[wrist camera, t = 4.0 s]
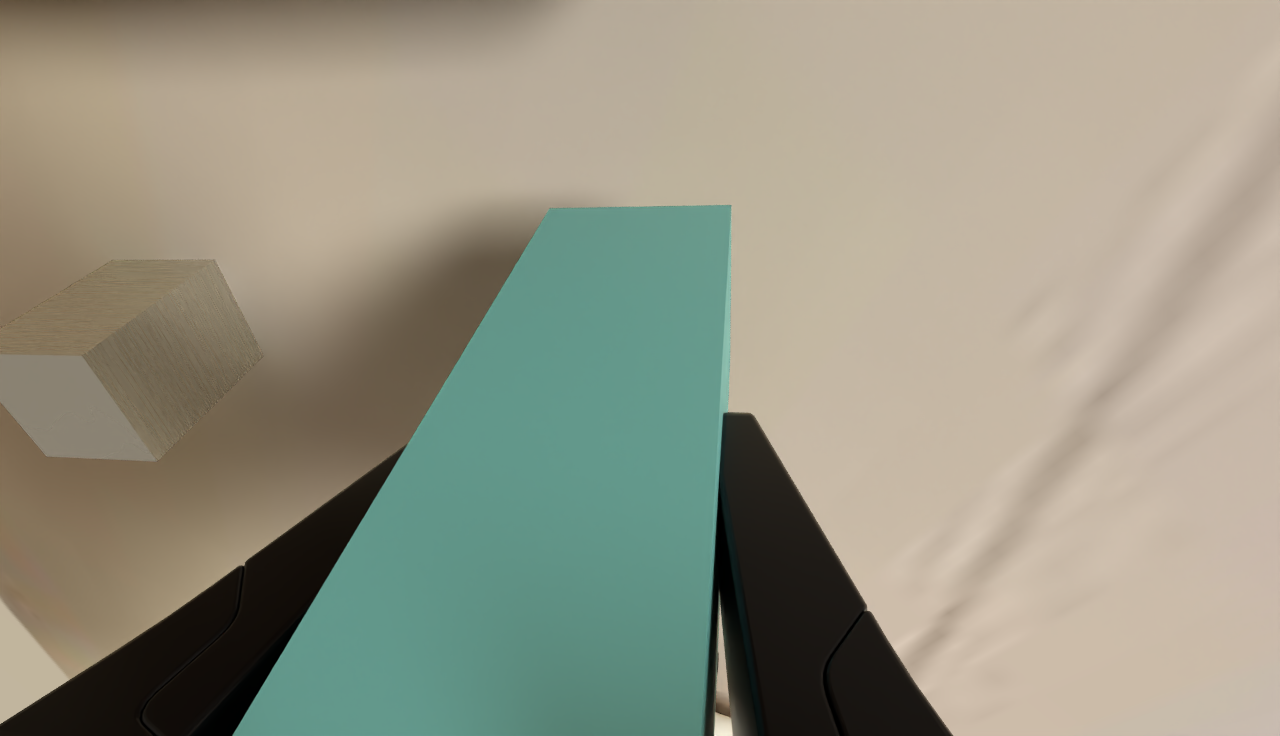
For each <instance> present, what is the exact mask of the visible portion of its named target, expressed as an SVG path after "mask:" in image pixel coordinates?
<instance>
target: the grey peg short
mask: <svg viewBox="0 0 1280 736" xmlns="http://www.w3.org/2000/svg"><path fill="white" fill-rule="evenodd" d="M263 356H264V355H263V353H262V351H261V349H260V347H259V345H258V343H257V341H256V339H255V337H254V335H253V333H252V331H251V329H250V327H249V325H248V324H247V322H246V320H245V318H244V316H243V314H242V312H241V310H240V308H239V306H238V304H237V302H236V300H235V298H234V296H233V294H232V292H231V290H230V288H229V286H228V284H227V282H226V280H225V278H224V276H223V274H222V273H221V271H220V269H219V267H218V265H217V263H216V261H215V260H112V261H111V262H109V263H107V264H106V265H104V266H102V267H101V268H99V269H97V270H96V271H94V272H92V273H91V274H89V275H88V276H86V277H84V278H83V279H81V280H79V281H78V282H76V283H74V284H73V285H71V286H69V287H68V288H66V289H64V290H63V291H61V292H60V293H58V294H56V295H55V296H53V297H51V298H50V299H48V300H46V301H45V302H43V303H41V304H40V305H38V306H37V307H35V308H33V309H32V310H30V311H28V312H27V313H25V314H23V315H22V316H20V317H18V318H17V319H15V320H13V321H12V322H10V323H9V324H7V325H5V326H4V327H2V328H0V402H1V404H2V405H3V406H4V407H5V408H6V409H7V411H8V412H9V413H10V414H11V415H12V417H13V418H14V419H15V420H16V421H17V422H18V424H19V425H20V426H21V427H22V428H23V430H24V431H25V432H26V433H27V434H28V435H29V437H30V438H31V439H32V440H33V441H34V443H35V444H36V445H37V446H38V447H39V448H40V450H41V451H42V452H43V453H44V454H45V456H46V457H67V458H88V459H110V460H131V461H152V462H157V461H158V460H159V459H160V458H161V457H162V456H163V455H164V454H165V453H166V452H168V451H169V450H170V449H171V448H172V447H173V446H174V445H175V444H176V443H177V442H178V441H179V440H180V439H181V438H182V437H183V436H184V435H185V434H186V433H187V432H188V431H189V430H190V429H191V428H192V427H193V426H194V425H195V424H196V423H197V422H198V421H199V420H200V419H201V418H202V417H203V416H204V415H205V414H206V413H207V412H208V411H209V410H210V409H211V408H212V407H213V406H214V405H215V404H216V403H217V402H218V401H219V400H220V399H221V398H222V397H223V396H224V395H225V394H226V393H227V392H228V391H229V390H230V389H231V388H232V387H233V386H234V385H235V384H236V383H237V382H238V381H239V380H240V379H241V378H242V377H243V376H244V375H245V374H246V373H247V372H248V371H249V370H250V369H251V368H252V367H253V366H254V365H255V364H256V363H257V362H258V361H259V360H260V359H261V358H262V357H263Z"/></svg>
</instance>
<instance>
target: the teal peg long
mask: <svg viewBox="0 0 1280 736" xmlns="http://www.w3.org/2000/svg"><path fill="white" fill-rule="evenodd" d="M730 306H731V205H708V206H652V207H597V208H550V209H549V210H548V212H547V214H546V215H545V217H544V219H543V220H542V222H541V224H540V225H539V227H538V229H537V230H536V232H535V233H534V235H533V237H532V238H531V240H530V242H529V243H528V245H527V247H526V248H525V250H524V252H523V253H522V255H521V257H520V258H519V260H518V262H517V263H516V265H515V267H514V268H513V270H512V272H511V273H510V275H509V277H508V278H507V280H506V282H505V283H504V285H503V287H502V288H501V290H500V292H499V293H498V295H497V297H496V298H495V300H494V302H493V303H492V305H491V307H490V308H489V310H488V312H487V313H486V315H485V317H484V318H483V320H482V322H481V323H480V325H479V327H478V328H477V330H476V332H475V333H474V335H473V337H472V338H471V340H470V342H469V343H468V345H467V347H466V348H465V350H464V352H463V353H462V355H461V357H460V358H459V360H458V361H457V363H456V365H455V366H454V368H453V370H452V371H451V373H450V375H449V376H448V378H447V380H446V381H445V383H444V385H443V386H442V388H441V390H440V391H439V393H438V395H437V396H436V398H435V400H434V401H433V403H432V405H431V406H430V408H429V410H428V411H427V413H426V415H425V416H424V418H423V420H422V421H421V423H420V425H419V426H418V428H417V430H416V431H415V433H414V435H413V436H412V438H411V440H410V441H409V443H408V445H407V446H406V448H405V450H404V451H403V453H402V455H401V456H400V458H399V460H398V461H397V463H396V465H395V466H394V468H393V470H392V471H391V473H390V475H389V476H388V478H387V480H386V481H385V483H384V485H383V486H382V488H381V490H380V491H379V493H378V494H377V496H376V498H375V499H374V501H373V503H372V504H371V506H370V508H369V509H368V511H367V513H366V514H365V516H364V518H363V519H362V521H361V523H360V524H359V526H358V528H357V529H356V531H355V533H354V534H353V536H352V538H351V539H350V541H349V543H348V544H347V546H346V548H345V549H344V551H343V553H342V554H341V556H340V558H339V559H338V561H337V563H336V564H335V566H334V568H333V569H332V571H331V573H330V574H329V576H328V578H327V579H326V581H325V583H324V584H323V586H322V588H321V589H320V591H319V593H318V594H317V596H316V598H315V599H314V601H313V603H312V604H311V606H310V608H309V609H308V611H307V613H306V614H305V616H304V618H303V619H302V621H301V623H300V624H299V626H298V627H297V629H296V631H295V632H294V634H293V636H292V637H291V639H290V641H289V642H288V644H287V646H286V647H285V649H284V651H283V652H282V654H281V656H280V657H279V659H278V661H277V662H276V664H275V666H274V667H273V669H272V671H271V672H270V674H269V676H268V677H267V679H266V681H265V682H264V684H263V686H262V687H261V689H260V691H259V692H258V694H257V696H256V697H255V699H254V701H253V702H252V704H251V706H250V707H249V709H248V711H247V712H246V714H245V716H244V717H243V719H242V721H241V722H240V724H239V726H238V727H237V729H236V731H235V732H234V734H233V736H714V730H715V706H716V682H717V658H718V634H719V610H720V594H719V493H718V488H719V469H720V453H721V438H722V422H723V413H725V412H728V396H729V372H730Z"/></svg>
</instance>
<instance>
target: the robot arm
mask: <svg viewBox="0 0 1280 736" xmlns="http://www.w3.org/2000/svg"><path fill="white" fill-rule="evenodd" d="M407 445H408V444H406V445H405V446H404V447H402V448H401V449H399V450H398V451H397V452H395V453H394V454H393V455H391V456H390V457H388V458H387V459H386V460H384V461H383V462H382V463H380V464H379V465H377V466H376V467H375V468H373V469H372V470H371V471H369V472H368V473H366V474H365V475H364V476H362V477H361V478H360V479H358V480H357V481H355V482H354V483H353V484H351V485H350V486H349V487H347V488H346V489H344V490H343V491H342V492H340V493H339V494H338V495H336V496H335V497H333V498H332V499H331V500H329V501H328V502H327V503H325V504H324V505H322V506H321V507H320V508H318V509H317V510H316V511H314V512H313V513H311V514H310V515H309V516H307V517H306V518H304V519H303V520H302V521H300V522H299V523H298V524H296V525H295V526H293V527H292V528H291V529H289V530H288V531H287V532H285V533H284V534H282V535H281V536H280V537H278V538H277V539H276V540H274V541H273V542H271V543H270V544H269V545H267V546H266V547H265V548H263V549H262V550H260V551H259V552H258V553H256V554H255V555H254V556H252V557H251V558H249V559H248V560H247V561H246V562H245V566H238V567H237V568H235V569H234V570H233V571H231V572H230V573H229V574H227V575H226V576H224V577H223V578H222V579H220V580H219V581H218V582H216V583H215V584H213V585H212V586H211V587H209V588H208V589H206V590H205V591H203V592H202V593H201V594H199V595H198V596H196V597H195V598H193V599H192V600H191V601H189V602H188V603H186V604H185V605H183V606H182V607H181V608H179V609H178V610H176V611H175V612H174V613H172V614H171V615H169V616H168V617H166V618H165V619H163V620H162V621H160V622H159V623H157V624H156V625H154V626H153V627H151V628H150V629H148V630H146V631H145V632H143V633H142V634H140V635H139V636H137V637H136V638H134V639H133V640H131V641H130V642H128V643H127V644H125V645H124V646H122V647H121V648H119V649H118V650H116V651H114V652H113V653H111V654H110V655H108V656H107V657H105V658H103V659H102V660H100V661H99V662H97V663H96V664H94V665H92V666H91V667H89V668H88V669H86V670H85V671H83V672H81V673H80V674H78V675H77V676H75V677H74V678H72V679H70V680H69V681H67V682H66V683H64V684H63V685H61V686H59V687H58V688H56V689H55V690H53V691H52V692H50V693H49V694H47V695H45V696H44V697H42V698H41V699H39V700H38V701H36V702H34V703H33V704H31V705H30V706H28V707H27V708H25V709H24V710H22V711H20V712H19V713H17V714H16V715H14V716H13V717H11V718H9V719H8V720H6V721H5V722H3V723H1V724H0V736H233V734H234V732H235V731H236V729H237V727H238V726H239V724H240V722H241V721H242V719H243V717H244V716H245V714H246V712H247V711H248V709H249V707H250V706H251V704H252V702H253V701H254V699H255V697H256V696H257V694H258V692H259V691H260V689H261V687H262V686H263V684H264V682H265V681H266V679H267V677H268V676H269V674H270V672H271V671H272V669H273V667H274V666H275V664H276V662H277V661H278V659H279V657H280V656H281V654H282V652H283V651H284V649H285V647H286V646H287V644H288V642H289V641H290V639H291V637H292V636H293V634H294V632H295V631H296V629H297V627H298V626H299V624H300V623H301V621H302V619H303V618H304V616H305V614H306V613H307V611H308V609H309V608H310V606H311V604H312V603H313V601H314V599H315V598H316V596H317V594H318V593H319V591H320V589H321V588H322V586H323V584H324V583H325V581H326V579H327V578H328V576H329V574H330V573H331V571H332V569H333V568H334V566H335V564H336V563H337V561H338V559H339V558H340V556H341V554H342V553H343V551H344V549H345V548H346V546H347V544H348V543H349V541H350V539H351V538H352V536H353V534H354V533H355V531H356V529H357V528H358V526H359V524H360V523H361V521H362V519H363V518H364V516H365V514H366V513H367V511H368V509H369V508H370V506H371V504H372V503H373V501H374V499H375V498H376V496H377V494H378V493H379V491H380V490H381V488H382V486H383V485H384V483H385V481H386V480H387V478H388V476H389V475H390V473H391V471H392V470H393V468H394V466H395V465H396V463H397V461H398V460H399V458H400V456H401V455H402V453H403V451H404V450H405V448H406V446H407ZM718 493H719V594H720V605H721V616H722V626H723V637H724V648H725V659H726V669H727V680H728V691H729V702H730V712H731V723H732V734H733V736H953V735H952V733H951V732H950V731H949V729H948V728H947V727H946V725H945V724H944V722H943V721H942V720H941V718H940V717H939V715H938V714H937V713H936V711H935V710H934V708H933V707H932V706H931V704H930V703H929V702H928V700H927V699H926V697H925V696H924V695H923V693H922V692H921V690H920V689H919V688H918V686H917V685H916V683H915V682H914V680H913V679H912V677H911V676H910V674H909V673H908V671H907V669H906V668H905V666H904V665H903V663H902V662H901V660H900V658H899V657H898V655H897V654H896V652H895V651H894V649H893V647H892V646H891V644H890V643H889V641H888V640H887V638H886V636H885V635H884V633H883V631H882V629H881V628H880V626H879V624H878V623H877V621H876V619H875V618H874V616H873V614H872V613H871V612H870V611H867V605H866V603H865V601H864V600H863V598H862V596H861V595H860V593H859V591H858V590H857V588H856V586H855V585H854V583H853V581H852V580H851V578H850V576H849V575H848V573H847V571H846V570H845V568H844V566H843V564H842V563H841V561H840V559H839V558H838V556H837V554H836V553H835V551H834V549H833V548H832V546H831V544H830V543H829V541H828V539H827V538H826V536H825V534H824V533H823V531H822V529H821V527H820V526H819V524H818V522H817V521H816V519H815V517H814V516H813V514H812V512H811V511H810V509H809V507H808V506H807V504H806V502H805V501H804V499H803V497H802V496H801V494H800V492H799V490H798V489H797V487H796V485H795V484H794V482H793V480H792V479H791V477H790V475H789V474H788V472H787V470H786V469H785V467H784V465H783V464H782V462H781V460H780V459H779V457H778V455H777V453H776V452H775V450H774V448H773V447H772V445H771V443H770V442H769V440H768V438H767V437H766V435H765V433H764V432H763V430H762V428H761V427H760V425H759V423H758V422H757V420H756V418H755V417H754V416H753V415H752V414H751V413H737V412H725V413H723V422H722V438H721V453H720V469H719V488H718Z"/></svg>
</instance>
